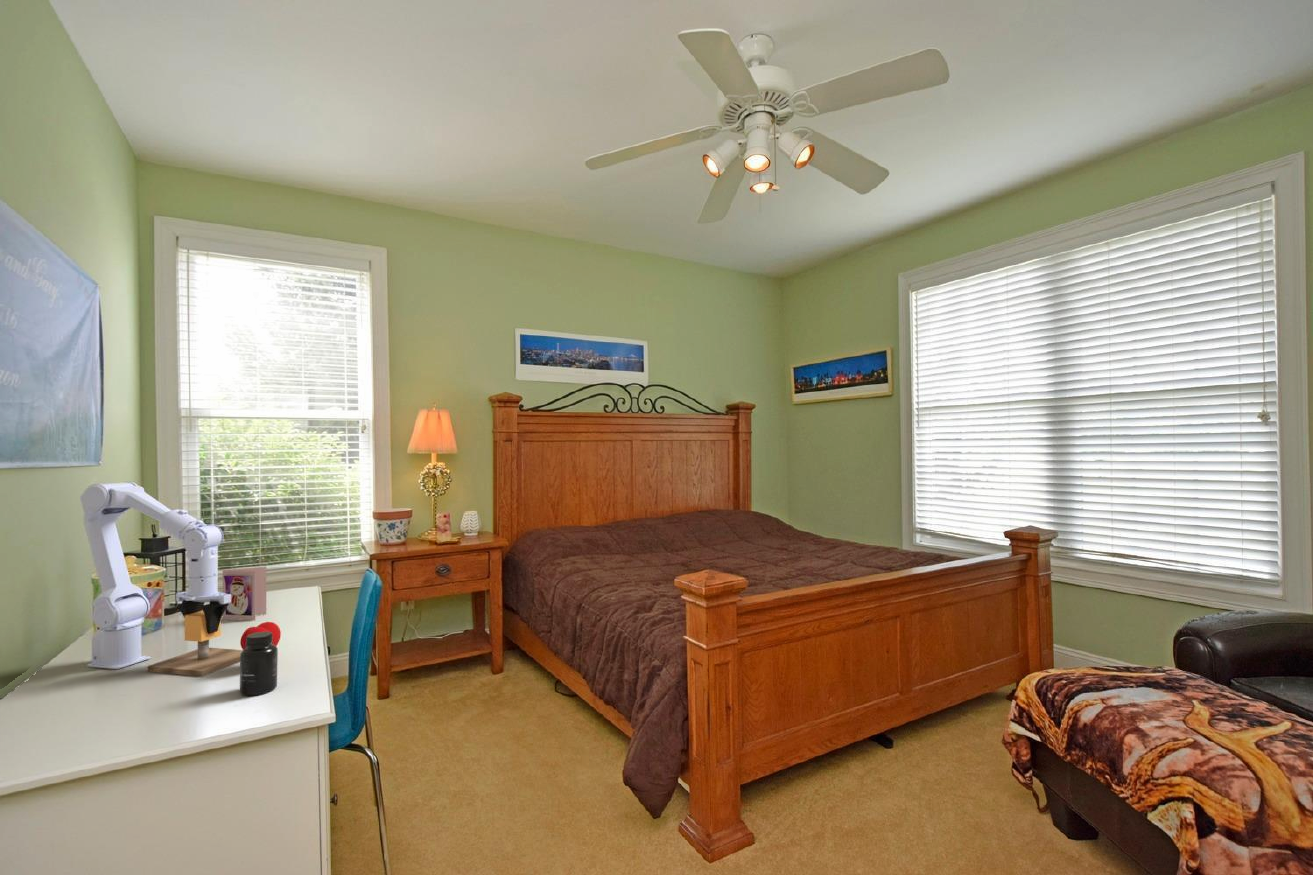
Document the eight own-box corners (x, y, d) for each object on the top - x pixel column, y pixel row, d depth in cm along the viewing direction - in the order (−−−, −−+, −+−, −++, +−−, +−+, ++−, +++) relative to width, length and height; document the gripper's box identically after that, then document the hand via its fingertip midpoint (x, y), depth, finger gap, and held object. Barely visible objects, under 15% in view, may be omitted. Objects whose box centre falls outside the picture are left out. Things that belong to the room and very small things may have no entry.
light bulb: (257, 674, 141) (257, 631, 141) (231, 672, 143) (231, 629, 143) (288, 660, 150) (288, 619, 151) (264, 659, 152) (264, 618, 152)
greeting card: (220, 619, 188) (220, 570, 188) (240, 613, 195) (240, 566, 195) (252, 621, 186) (252, 571, 186) (272, 614, 193) (272, 566, 193)
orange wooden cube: (184, 640, 147) (184, 615, 147) (204, 634, 152) (204, 609, 152) (201, 641, 146) (201, 616, 146) (220, 635, 151) (220, 610, 151)
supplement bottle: (237, 699, 127) (237, 641, 128) (241, 688, 134) (242, 632, 134) (276, 692, 131) (276, 636, 131) (278, 682, 137) (278, 628, 137)
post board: (147, 671, 144) (147, 646, 144) (204, 651, 158) (204, 629, 158) (202, 676, 141) (202, 651, 141) (255, 656, 154) (255, 633, 154)
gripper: (163, 577, 147) (163, 634, 147) (211, 580, 144) (211, 638, 144) (191, 572, 154) (191, 626, 154) (238, 574, 151) (238, 629, 151)
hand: (203, 631), depth 149 cm, fingers closed on orange wooden cube, 5 cm apart
